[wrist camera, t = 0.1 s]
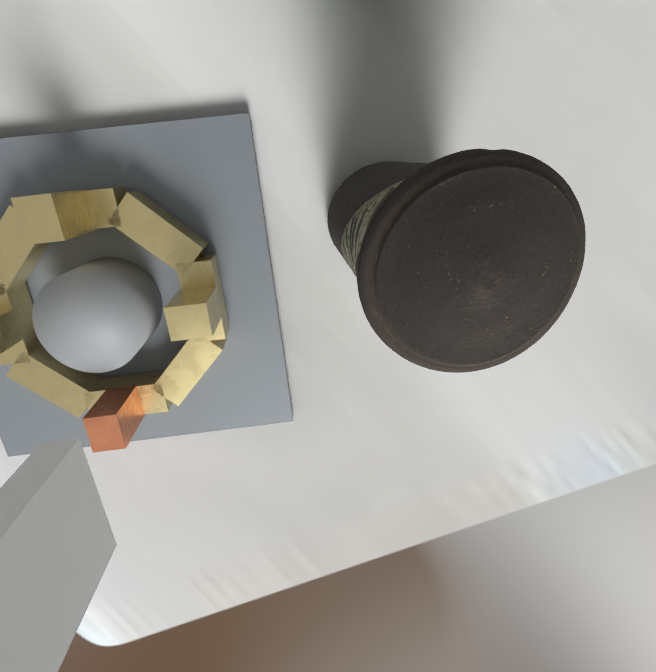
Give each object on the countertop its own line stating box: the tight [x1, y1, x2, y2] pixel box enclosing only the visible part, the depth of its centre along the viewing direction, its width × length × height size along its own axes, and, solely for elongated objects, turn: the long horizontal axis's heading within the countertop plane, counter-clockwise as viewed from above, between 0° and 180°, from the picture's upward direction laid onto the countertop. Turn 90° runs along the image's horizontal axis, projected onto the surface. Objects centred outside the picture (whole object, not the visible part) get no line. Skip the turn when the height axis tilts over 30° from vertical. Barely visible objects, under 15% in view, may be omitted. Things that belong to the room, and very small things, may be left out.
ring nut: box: [0, 186, 230, 452], centre depth 32 cm, size 17×17×7 cm
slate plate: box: [0, 113, 293, 456], centre depth 34 cm, size 24×24×6 cm
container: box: [328, 149, 585, 372], centre depth 26 cm, size 9×9×20 cm
